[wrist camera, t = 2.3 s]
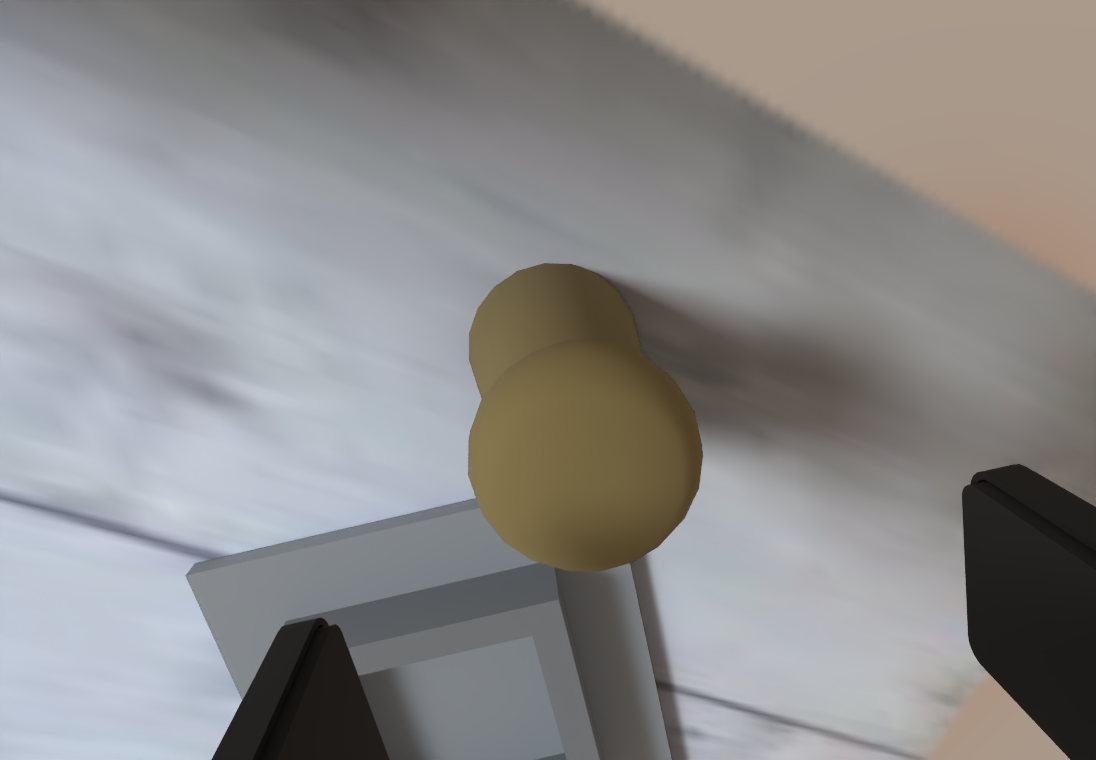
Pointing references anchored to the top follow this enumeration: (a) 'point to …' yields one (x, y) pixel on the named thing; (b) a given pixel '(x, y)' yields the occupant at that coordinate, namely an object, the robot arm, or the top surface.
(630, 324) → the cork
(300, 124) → the top surface
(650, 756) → the bay base
